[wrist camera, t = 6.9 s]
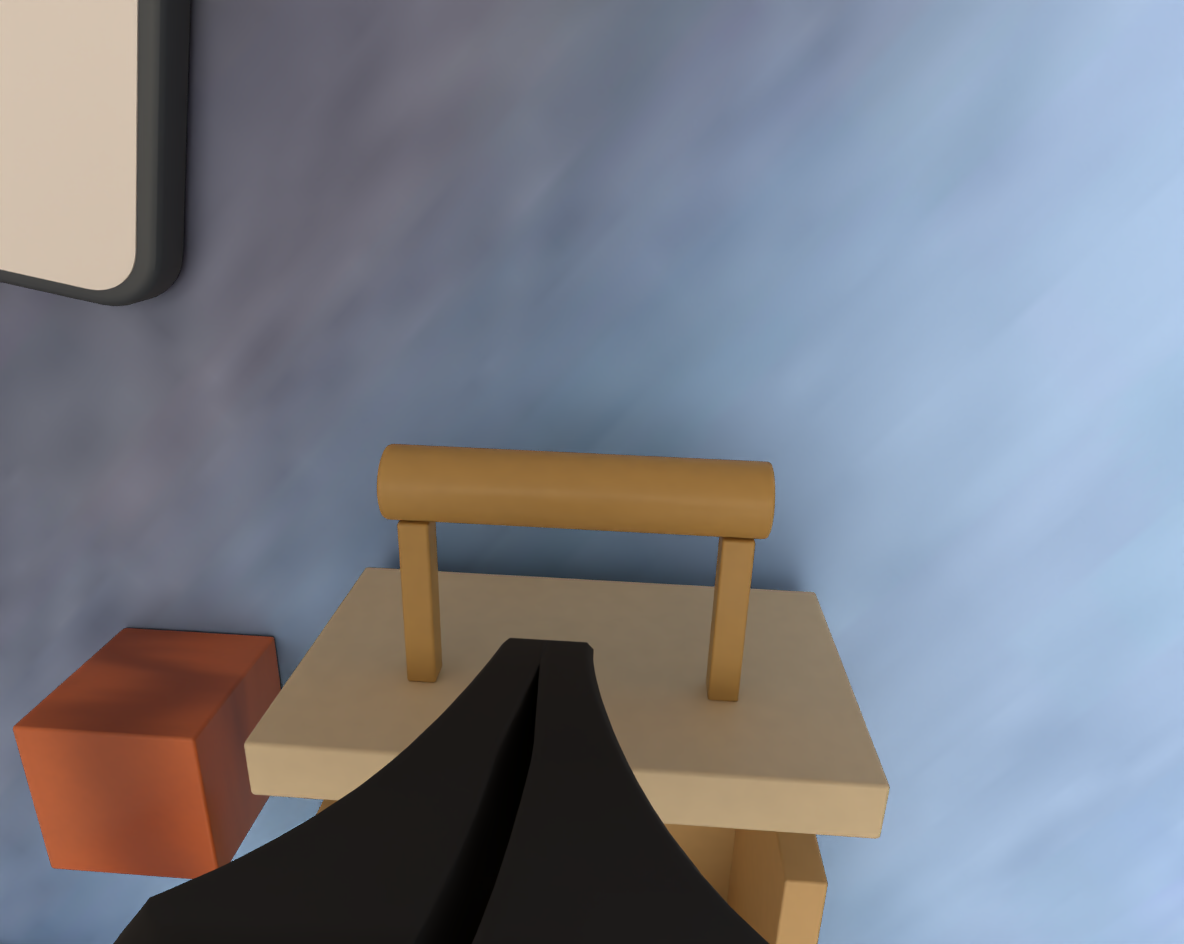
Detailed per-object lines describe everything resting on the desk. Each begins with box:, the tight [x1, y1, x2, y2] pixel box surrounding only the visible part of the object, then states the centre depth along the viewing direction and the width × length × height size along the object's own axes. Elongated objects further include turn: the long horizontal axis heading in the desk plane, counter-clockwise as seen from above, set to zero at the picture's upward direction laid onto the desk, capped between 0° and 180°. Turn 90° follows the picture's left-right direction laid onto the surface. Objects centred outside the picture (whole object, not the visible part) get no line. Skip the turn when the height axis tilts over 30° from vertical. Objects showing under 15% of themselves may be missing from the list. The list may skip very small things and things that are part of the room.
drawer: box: [244, 444, 890, 944], centre depth 19 cm, size 19×11×7 cm, turn 179°
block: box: [13, 628, 281, 879], centre depth 22 cm, size 4×4×4 cm
